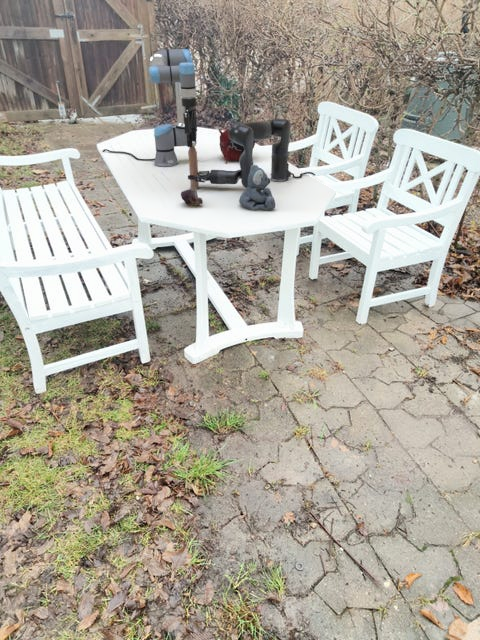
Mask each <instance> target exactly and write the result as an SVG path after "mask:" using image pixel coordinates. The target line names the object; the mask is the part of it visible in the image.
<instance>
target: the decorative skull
mask: <svg viewBox="0 0 480 640" xmlns="http://www.w3.org/2000/svg"><path fill="white" fill-rule="evenodd" d="M228 131H229V128H227V129H226V130H224V131H222V130H221V128H218V133H219V134H220V135H219V149H220V152H221V154H222V157H223V158H224V159H225V164H227V163H228V160H229V161H239V159H240V156H241V154H242V153H243V152H244V147H243V146H242V145H239V144H237V143H234V142H233V141H231V140H230V139H229V137H228ZM255 145H256V140H253V149H254V148H255Z"/></svg>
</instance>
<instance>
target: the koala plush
mask: <svg viewBox="0 0 480 640" xmlns="http://www.w3.org/2000/svg"><path fill="white" fill-rule="evenodd" d="M270 183H271V178H269V176H268V175H267V173H266V172H265V170H264V169H263V168H261V167H259V165H257V164H253V165H252V166H251V170H250V173H249V175H248V187H247V188H245V190H244V191H243V192H242V193H241V194H240V197H239V199H238V203H239V204H240V206H241V207H242V208H246V209H247V210H252V211H255V210H261V211H272V210H274V209H275V208H276V200H275V198H274V196H273V194H272V191H271V188H270V187H268V186H269V185H270Z"/></svg>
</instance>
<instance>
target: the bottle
mask: <svg viewBox="0 0 480 640" xmlns="http://www.w3.org/2000/svg"><path fill="white" fill-rule="evenodd" d="M187 152H188V153H187V155H188V156H187V157H188V168H189V175H198V172H199V165H198V152H197V149H196V146H193V147H188V151H187ZM197 179H198V178H197ZM189 183H190V189H196V190H198V189H200V182H196V181H195V180H189Z"/></svg>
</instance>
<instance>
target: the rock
mask: <svg viewBox="0 0 480 640" xmlns="http://www.w3.org/2000/svg"><path fill="white" fill-rule="evenodd" d="M180 197H181V200H182V201H183V202H184V203H185V205H187V206H189V207H191V206H192V207H193V206H201V205H203V204H204V202H203V199H202V197H199V195H198V189H191V188H188V189H185V190H181V192H180Z"/></svg>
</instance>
